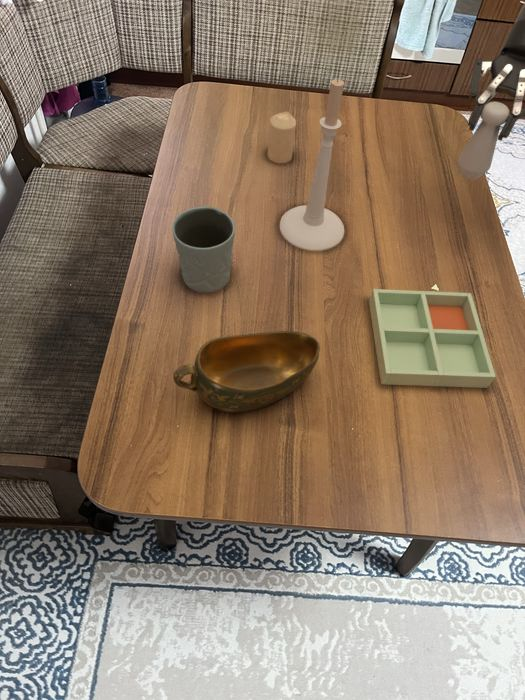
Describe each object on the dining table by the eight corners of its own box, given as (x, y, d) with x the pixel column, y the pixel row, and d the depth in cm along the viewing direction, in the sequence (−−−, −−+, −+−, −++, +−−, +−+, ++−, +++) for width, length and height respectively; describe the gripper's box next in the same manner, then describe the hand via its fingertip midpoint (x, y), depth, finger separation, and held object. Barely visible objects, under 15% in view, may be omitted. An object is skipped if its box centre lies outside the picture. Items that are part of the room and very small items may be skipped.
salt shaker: (483, 165, 100) (513, 98, 89) (487, 184, 96) (519, 117, 86) (452, 161, 100) (478, 95, 89) (455, 181, 97) (483, 114, 86)
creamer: (194, 345, 88) (190, 305, 79) (314, 364, 87) (323, 326, 79) (175, 413, 80) (169, 377, 72) (306, 434, 79) (316, 401, 71)
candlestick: (334, 259, 101) (370, 110, 76) (270, 241, 103) (285, 90, 78) (350, 217, 108) (387, 68, 84) (290, 201, 110) (309, 51, 85)
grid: (463, 306, 96) (471, 292, 93) (486, 388, 86) (496, 377, 83) (368, 302, 95) (373, 288, 92) (380, 385, 85) (386, 373, 82)
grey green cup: (240, 264, 99) (242, 213, 89) (223, 304, 93) (223, 254, 83) (189, 251, 100) (185, 200, 90) (169, 290, 94) (162, 239, 84)
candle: (277, 146, 120) (281, 104, 112) (296, 156, 119) (302, 114, 110) (262, 157, 118) (265, 114, 110) (281, 167, 116) (286, 125, 108)
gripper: (495, 6, 84) (445, 112, 88) (587, 32, 81) (530, 142, 84) (492, 29, 92) (445, 126, 95) (576, 53, 88) (524, 154, 91)
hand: (485, 133), depth 90 cm, fingers closed on salt shaker, 4 cm apart
